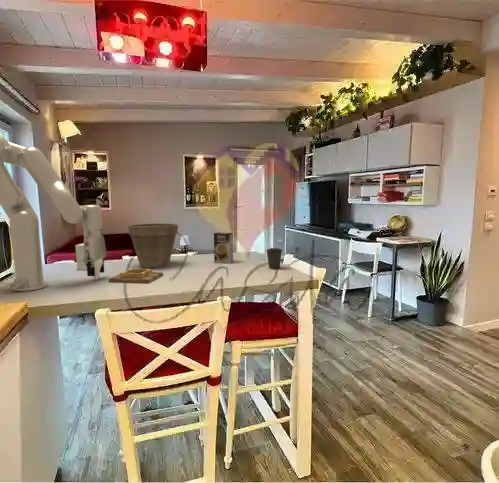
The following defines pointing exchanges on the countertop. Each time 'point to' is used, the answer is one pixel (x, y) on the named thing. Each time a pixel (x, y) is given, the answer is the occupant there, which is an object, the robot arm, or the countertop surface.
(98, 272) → the lightbulb
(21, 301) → the countertop surface
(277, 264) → the coffee cup
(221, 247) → the coffee box
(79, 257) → the supplement box
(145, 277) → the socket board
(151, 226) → the plant pot
